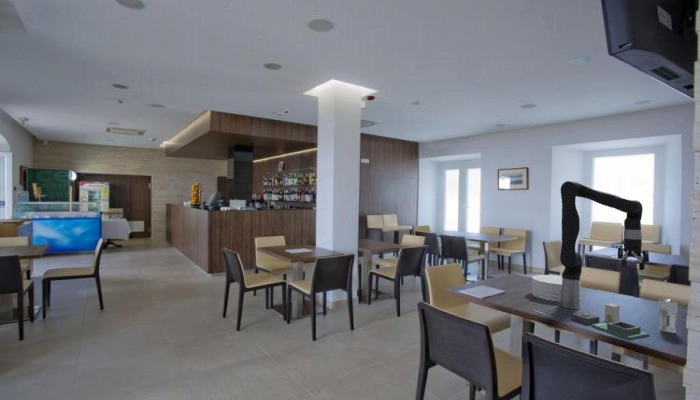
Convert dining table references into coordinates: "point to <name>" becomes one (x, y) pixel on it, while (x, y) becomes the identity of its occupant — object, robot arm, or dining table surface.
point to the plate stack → (547, 287)
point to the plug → (612, 312)
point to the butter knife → (542, 313)
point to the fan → (585, 318)
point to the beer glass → (667, 315)
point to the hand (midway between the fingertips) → (632, 268)
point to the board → (621, 329)
